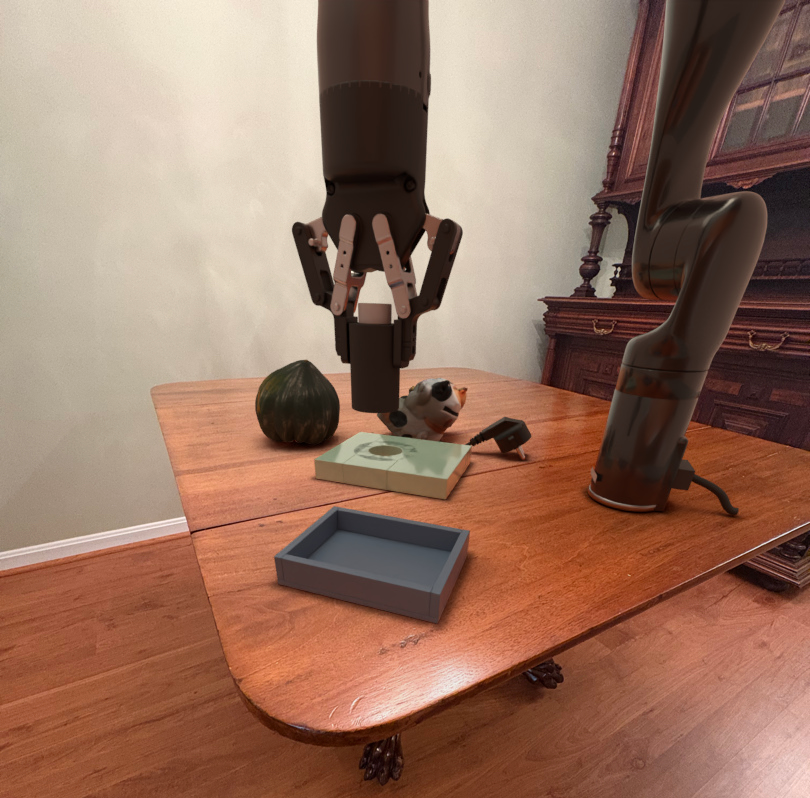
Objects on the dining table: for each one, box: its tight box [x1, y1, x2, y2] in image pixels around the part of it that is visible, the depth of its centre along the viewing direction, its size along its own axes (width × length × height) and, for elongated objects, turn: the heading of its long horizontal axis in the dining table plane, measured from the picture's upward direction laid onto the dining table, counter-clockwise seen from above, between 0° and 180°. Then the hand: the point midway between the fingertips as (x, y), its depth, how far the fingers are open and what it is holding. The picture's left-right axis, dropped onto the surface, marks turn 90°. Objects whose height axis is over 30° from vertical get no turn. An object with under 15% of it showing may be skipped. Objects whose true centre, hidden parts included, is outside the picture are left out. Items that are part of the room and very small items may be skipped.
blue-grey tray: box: [273, 505, 471, 624], centre depth 42 cm, size 16×12×3 cm
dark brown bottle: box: [349, 302, 401, 414], centre depth 37 cm, size 4×4×8 cm
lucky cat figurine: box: [376, 377, 468, 442], centre depth 80 cm, size 15×12×14 cm
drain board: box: [313, 431, 473, 500], centre depth 66 cm, size 20×16×3 cm
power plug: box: [464, 416, 532, 461], centre depth 74 cm, size 6×8×12 cm
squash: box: [254, 359, 341, 446], centre depth 76 cm, size 14×15×15 cm
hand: (375, 363), depth 38 cm, fingers closed on dark brown bottle, 4 cm apart
